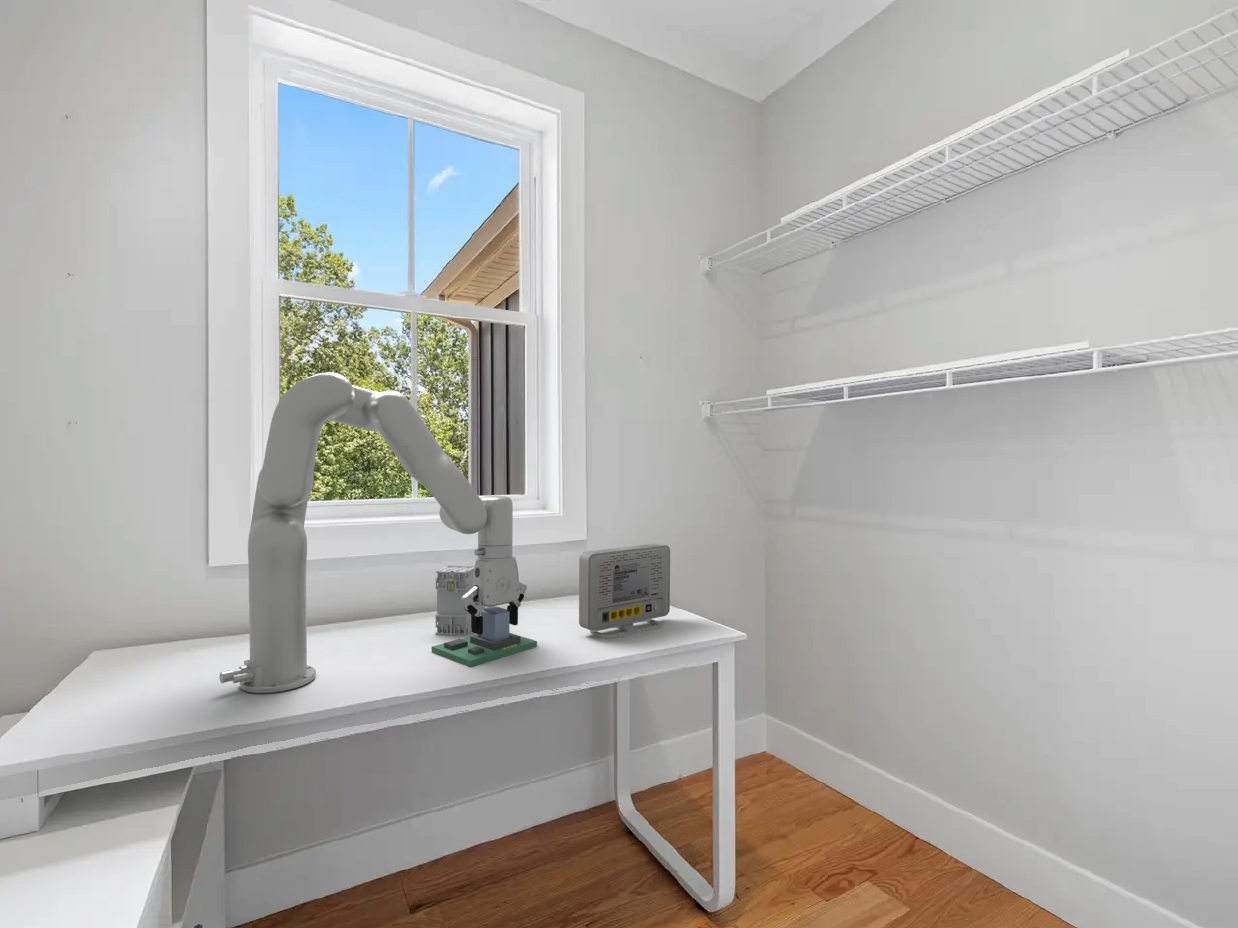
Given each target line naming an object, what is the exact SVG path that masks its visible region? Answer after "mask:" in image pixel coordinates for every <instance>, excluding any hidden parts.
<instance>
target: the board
mask: <svg viewBox="0 0 1238 928" xmlns="http://www.w3.org/2000/svg"><path fill="white" fill-rule="evenodd" d="M536 647H538V640H535V639H532V638H528V637H526V636H522V635H520V634H519V635H518V634H515V633H512V632H509V638H507V639H504V640H500V641H496V642H493V641H490V640H487V639H484V638H481V635H478V634H473V635H469V636H466V637H463V638H457V639H453V640H449V641H445V642H443V643H440V644H436V645H432V646H431V653H434V654H436V655H437V656H438V655H439V656H441V657H444V658H446V659H449V660H451V661H454V662H456V663H458V664H462V665H465V666H467V667H470V668H471V667H473V666H474V667H475V666H477V665H481V664H484V663H488V662H490V661H495V660H497V659H500V658H503V657H507V656H510V655H513V654H517V653H520V652H523V651H527V650H530V649H533V648H536Z"/></svg>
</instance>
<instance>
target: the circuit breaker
mask: <svg viewBox="0 0 1238 928" xmlns="http://www.w3.org/2000/svg"><path fill="white" fill-rule="evenodd" d="M474 567H475V565H446V566H443V567H442V568H440V569H438V570H437V571H435V573H436V574H437V577H436V578H435V590H436V614H435V628H436V632H435V635H445V636H447V635H448V636H451V635H452V636H467V634H468V635H469V634H470V633H472V629H471V615H470V614H469V613H468V612H467V611H466V610H465V609H464V606H463V603H462V601H461V597H462V596H464V595H465V594H466V593H467V592H469V591H470V590H471V589H472V584H473V573H474ZM470 602H471V605H473V603H474V602H473V599H471V601H470ZM478 607H479V606H478Z"/></svg>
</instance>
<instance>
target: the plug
mask: <svg viewBox="0 0 1238 928" xmlns="http://www.w3.org/2000/svg"><path fill="white" fill-rule="evenodd" d="M480 616H483V633H482V634H481V638H484V639H487V640H490V641H493V642H496V641H500V640H504V639H507V638H509V633H510V624H509V611H507V608H503V607H500V606H498V605H496V606H491V607H486V606H485V608H484V610H483V611H482V613H481V615H480Z"/></svg>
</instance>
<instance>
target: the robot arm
mask: <svg viewBox="0 0 1238 928" xmlns="http://www.w3.org/2000/svg"><path fill="white" fill-rule="evenodd" d="M274 408H275V409H274V412H273V415H272V417H271V421H270V424H269V425H270V426H269V430H268V436H267V441H266V446H265V451H264V459H263V463H262V467H261V469H260V471H259V474H258V476H257V482H256V490H255V493H254V501H253V508H252V514H251V521H250V522H251V523H250V528H249V534H248V540H247V559H248V561H247V564H248V605H249V606H248V607H249V608H248V611H249V612H248V613H249V616H248V617H249V620H248V621H249V622H248V623H249V624H248V625H249V629H248V630H249V659H247V660H244V661H243V664H244V665H240V666H239V667H238V668H237V669H233V670H232V669H230V670H227V671H220V673H219V682H220V684H223V683H224V684H225V683H228V682H232V683H233V684H237V683H239V688H240V689H241V690H242V691H244V692H247V693H252V694H269V693H270V694H271V693H279V692H284V691H289V690H293V689H297V688H300V687H302V686H304V685H308V684H309V683H310V682H311V683H312V681H313V680H314V679H315V678H316V675H317V670H316V668H315V667H313V666H311V665H307V664H308V661H307V660H308V658H307V657H308V656H307V653H308V651H307V640H308V638H307V632H308V631H307V630H308V629H307V560H308V559H307V558H308V538H307V533H306V530H305V521H306V516H307V508H308V501H309V496H310V495H311V493H312V490H313V488H314V474H315V473H314V471H315V463H316V456H317V449H318V445H319V442H320V441H319V440H320V434H321V431H322V428H323V427H324V424H326V422H327V421H329V422H334V423H337V424H342V425H345V426H350V427H354V428H358V429H363V430H367V431H372V432H376V433H377V432H378V433H379V434H380V436H381V438H382V439H383V440H384V441H385V443H386V444H387V446H388V447H389V448H390V450H391V451H392V452H393V454H394V455H395V457H396V458H397V460H398V462H399V463H400V464H401V465H402V467H403V469H404V470H405V471H406V472H407V473H408V475H409V476H411V477H412V478H413V479H414V480H415V481H416V482H417V483H419V484H420V485H422V487H424V488H425V489H426V490H427V491H428V492H429V493H430V495H432V497H433V499H435V500H436V502H437V503H438V504H439V506H440V508H439V517H440V521H441V522H442V523H443V525H445V526H446V527H447V528H448V529H451V530H453V531H455V532H458V533H460V534H463V535H474V534H476V533H477V548H476V549H474V553H473V554H474V555H475V556H476V557H477V558H476V559H475V563H474V566H475V567H474V573H473V584H472V589H471V590H470V591H469V592H467V593H466V594H465V595H464V596H462V597H461V601H462V603H463V606H464V609H465V610H466V611H467V612H468V613H469V614H470V615H471V629H472V631H471V633H472V634H474V635H477V634H478V635H481V634H482V633H483V616H481V613H482V611H483V610H484V608H486V607H491V606H499V605H504V604H508V605H507V606H506V609H507V611H509V625H513V626H518V624H519V608H520V607H521V603H522V601H523V600H524V598H525V594H526V591H527V587H528V586H527V585H526V584H524V583H522V582H520V578H519V568H518V562H517V559H516V556H514V555H513V531H514V530H513V524H514V523H513V522H514V521H513V519H514V518H513V511H514V510H513V506H514V505H513V501H512V499H511V498H510V497H508V496H505V495H487V496H481V497H480V496H479V494H478V493H477V491H476V490H475V488H474V487H473V486H472V483H470V481H469V480H468V479H467V477H466V476H465V474H463V472H462V471H461V470H460V469H459V468H458V466H456V464H455V463H454V462H453V460H452V459H451V457H450V456H449V455H448V454H447V453H446V452H445V450H444V449H443V448H442V447H441V445H440V444H439V442H438V441H437V439H436V438H435V437H434V435H433V433H431V431H430V430H429V428H428V426H427V425H426V424H425V422H424V420H423V419H422V418H421V416H420V414H419V413H418V412H417V410H416V409H415V407H414V406H413V405H412V403H411V401H410V400H409V398H407V397H406V395H404V394H403V393H401V392H399V391H396V390H385V391H382V392H379V391H375V390H371V389H366V388H363V387H359V386H356V385H353V384H352V383H351V381H350V380H349V379H348V378H346V377H345V376H343V375H341V374H339V373H336V372H322V373H317V374H315V375H311V376H308V377H306V378H304V379H301V380H299V381H298V382H297V383H295V384H294V385H292V386H291V387H290V388H289V389H288V390H287V391H286V392H285V393H284V394H283V396H282V397H281V398H280V399H279V401H278V402H277V404H276V407H274ZM471 599H473V602H474V603H473V605H471V602H470V601H471ZM478 606H479V607H478Z"/></svg>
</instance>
